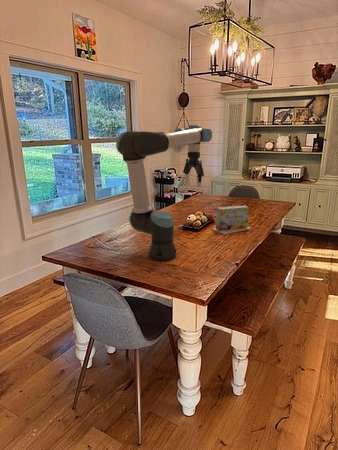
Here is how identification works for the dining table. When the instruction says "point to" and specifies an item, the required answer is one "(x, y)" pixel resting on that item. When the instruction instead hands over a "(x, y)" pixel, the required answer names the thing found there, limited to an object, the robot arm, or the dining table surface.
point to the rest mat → (230, 230)
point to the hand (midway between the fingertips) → (192, 186)
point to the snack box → (232, 217)
